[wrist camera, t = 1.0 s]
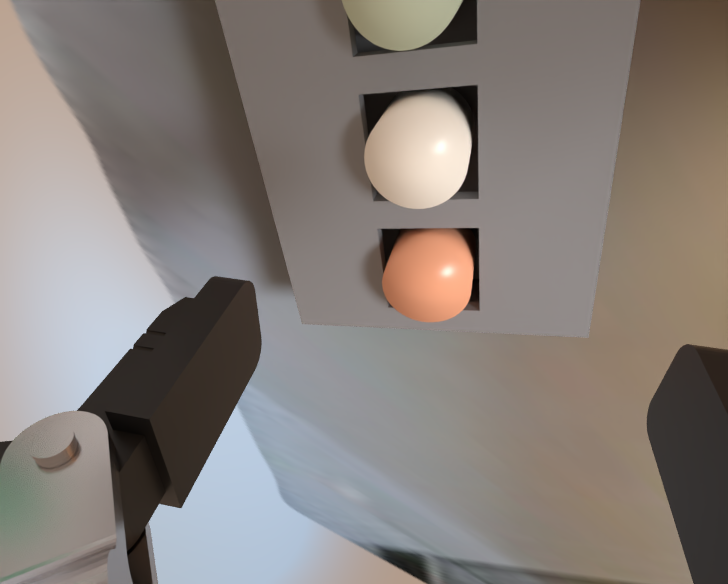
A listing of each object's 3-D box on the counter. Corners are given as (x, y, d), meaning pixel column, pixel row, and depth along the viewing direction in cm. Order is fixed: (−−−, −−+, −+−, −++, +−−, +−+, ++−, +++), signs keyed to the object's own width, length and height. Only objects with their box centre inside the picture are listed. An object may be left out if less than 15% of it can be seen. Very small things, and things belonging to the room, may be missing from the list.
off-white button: (474, 77, 22) (467, 103, 19) (475, 171, 25) (469, 208, 22) (378, 85, 23) (357, 112, 20) (388, 174, 26) (371, 209, 23)
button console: (641, -200, 18) (676, -231, 14) (579, 282, 30) (588, 337, 26) (240, -114, 22) (182, -120, 18) (326, 277, 34) (302, 323, 30)
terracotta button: (475, 209, 26) (470, 249, 23) (476, 279, 28) (471, 324, 25) (392, 211, 27) (376, 249, 24) (400, 277, 30) (387, 320, 27)
